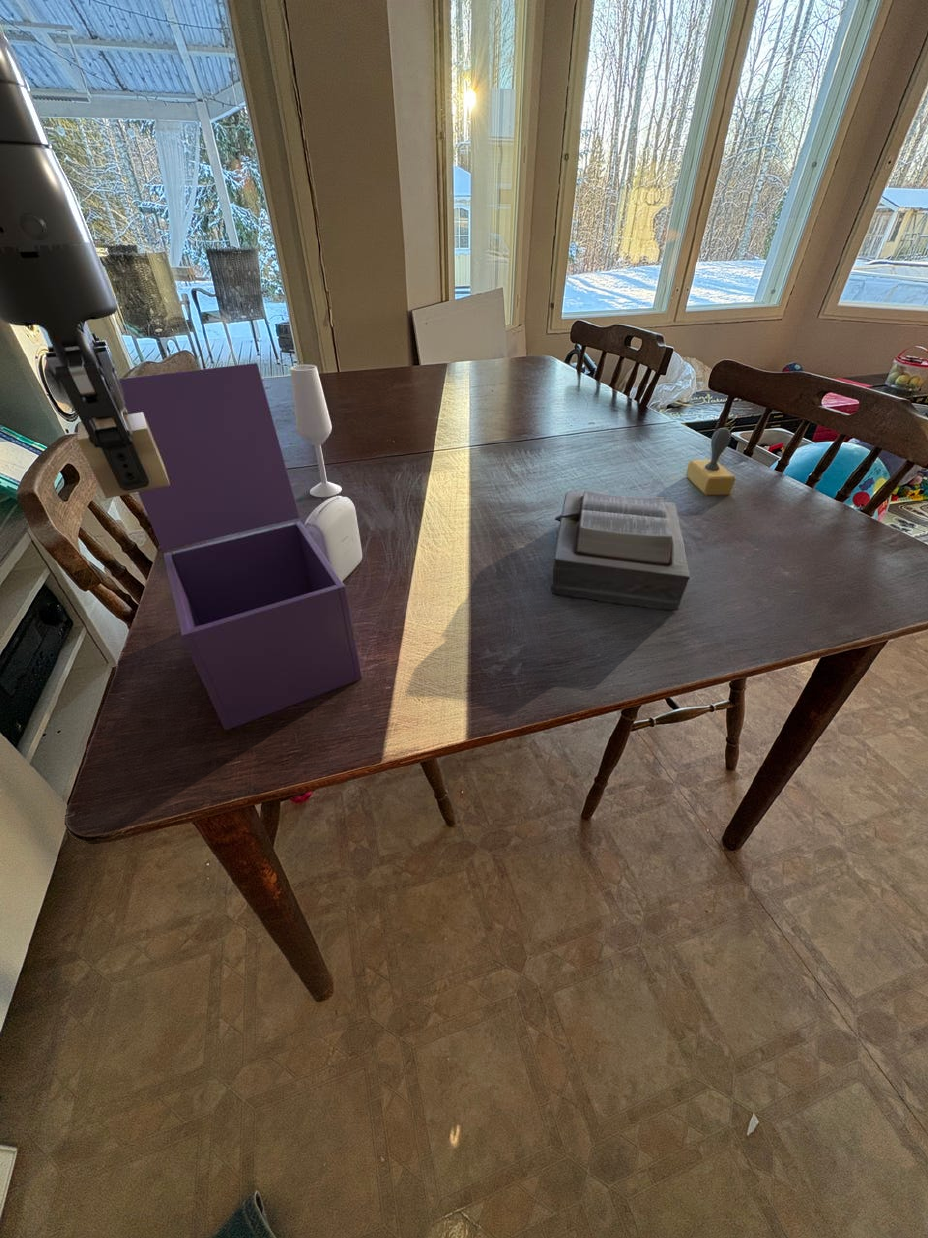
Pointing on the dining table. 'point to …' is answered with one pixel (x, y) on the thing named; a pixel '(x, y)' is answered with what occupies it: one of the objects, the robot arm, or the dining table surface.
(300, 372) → the champagne flute
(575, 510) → the bible
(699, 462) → the rubber stamp
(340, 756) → the dining table surface
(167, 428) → the lid
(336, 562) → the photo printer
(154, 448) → the block
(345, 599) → the box
